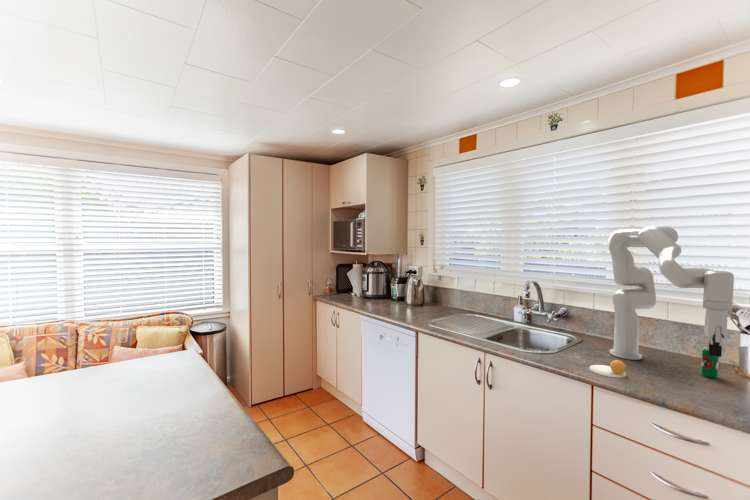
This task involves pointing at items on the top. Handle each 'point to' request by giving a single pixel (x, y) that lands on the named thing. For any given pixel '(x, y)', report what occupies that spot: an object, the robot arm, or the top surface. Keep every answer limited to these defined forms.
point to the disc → (605, 371)
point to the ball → (618, 367)
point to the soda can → (709, 364)
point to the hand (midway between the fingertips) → (714, 355)
